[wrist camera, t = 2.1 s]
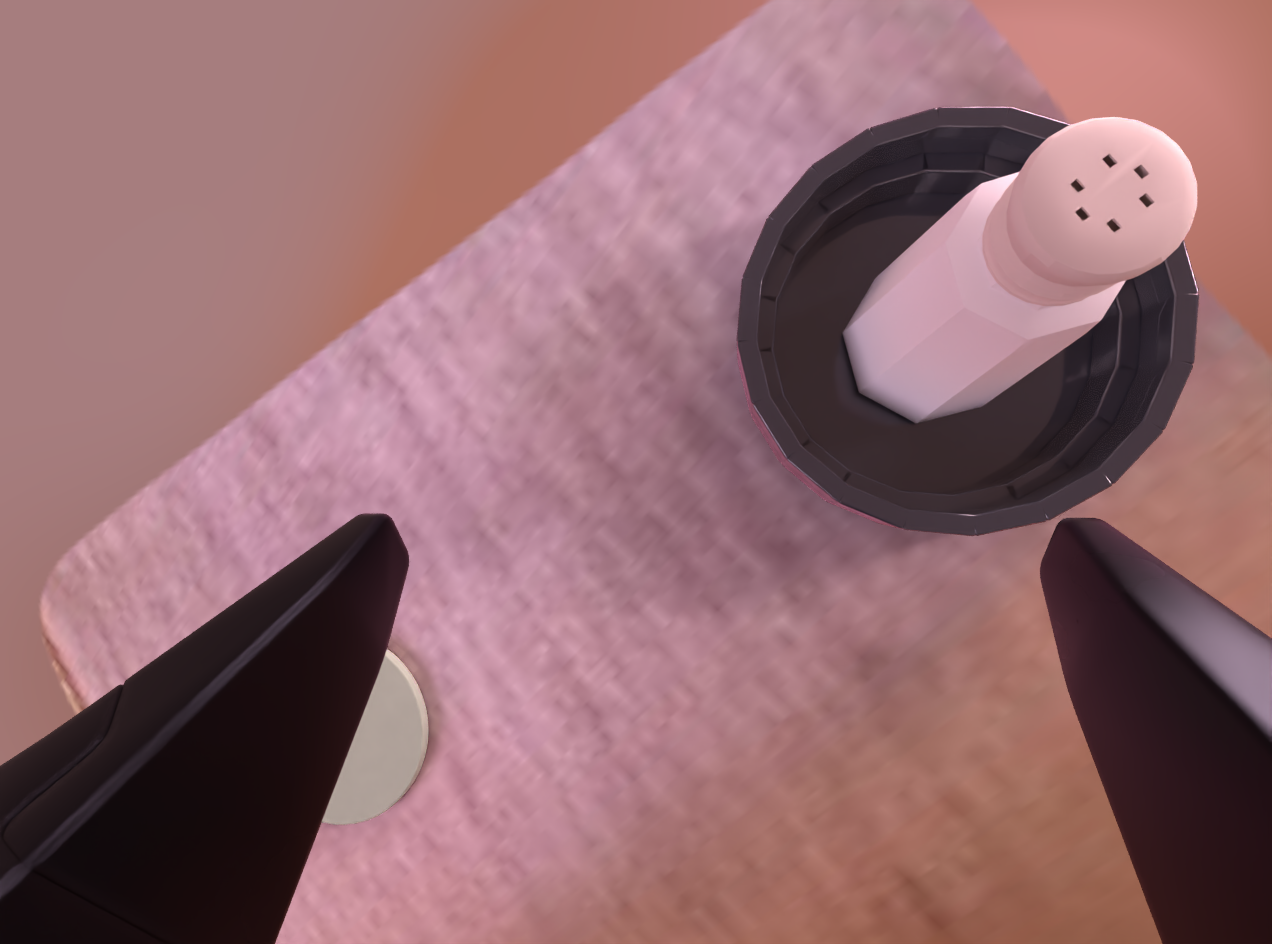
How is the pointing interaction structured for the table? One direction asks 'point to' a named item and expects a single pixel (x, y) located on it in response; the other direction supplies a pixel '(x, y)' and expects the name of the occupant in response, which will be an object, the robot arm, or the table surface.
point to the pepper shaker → (1020, 268)
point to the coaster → (382, 748)
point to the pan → (966, 441)
